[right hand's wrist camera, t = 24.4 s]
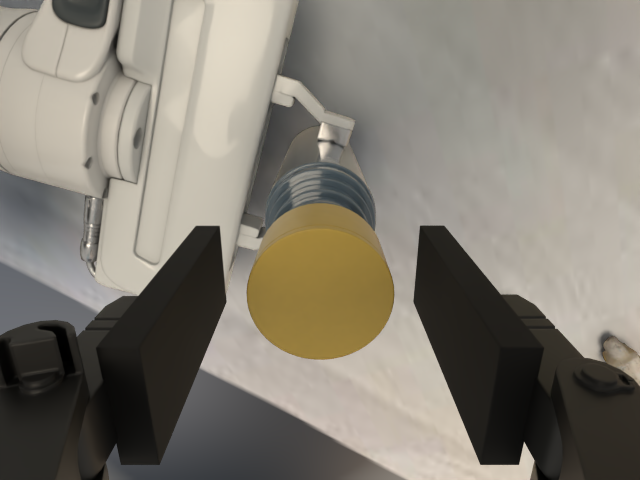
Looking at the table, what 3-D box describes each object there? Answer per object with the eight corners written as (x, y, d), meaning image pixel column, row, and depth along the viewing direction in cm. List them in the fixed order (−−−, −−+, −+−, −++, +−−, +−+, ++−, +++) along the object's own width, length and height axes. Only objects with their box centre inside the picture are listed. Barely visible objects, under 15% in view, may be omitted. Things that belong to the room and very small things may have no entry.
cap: (405, 237, 14) (422, 269, 12) (345, 334, 15) (349, 380, 13) (291, 180, 13) (285, 202, 11) (238, 286, 15) (223, 325, 12)
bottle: (349, 121, 31) (396, 196, 12) (356, 187, 32) (407, 346, 13) (282, 130, 31) (222, 218, 12) (292, 195, 33) (254, 362, 14)
